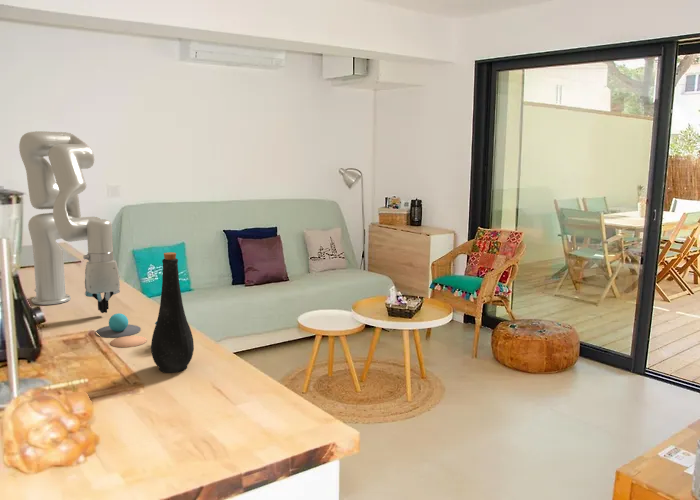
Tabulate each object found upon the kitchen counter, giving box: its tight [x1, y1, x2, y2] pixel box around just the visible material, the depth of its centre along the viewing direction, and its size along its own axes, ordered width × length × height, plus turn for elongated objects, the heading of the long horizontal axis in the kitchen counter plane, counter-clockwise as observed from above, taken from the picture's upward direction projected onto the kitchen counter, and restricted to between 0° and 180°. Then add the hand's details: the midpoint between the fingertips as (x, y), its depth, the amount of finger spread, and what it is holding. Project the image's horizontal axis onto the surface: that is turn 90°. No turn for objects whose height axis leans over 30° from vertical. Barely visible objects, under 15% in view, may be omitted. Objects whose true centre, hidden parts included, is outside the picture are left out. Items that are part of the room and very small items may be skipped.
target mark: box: [95, 323, 142, 339], centre depth 187 cm, size 13×13×1 cm
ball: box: [108, 312, 129, 332], centre depth 186 cm, size 6×6×6 cm
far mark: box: [109, 335, 148, 348], centre depth 177 cm, size 10×10×1 cm
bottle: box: [150, 251, 195, 374], centre depth 155 cm, size 11×11×30 cm
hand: (103, 311), depth 202 cm, fingers closed
